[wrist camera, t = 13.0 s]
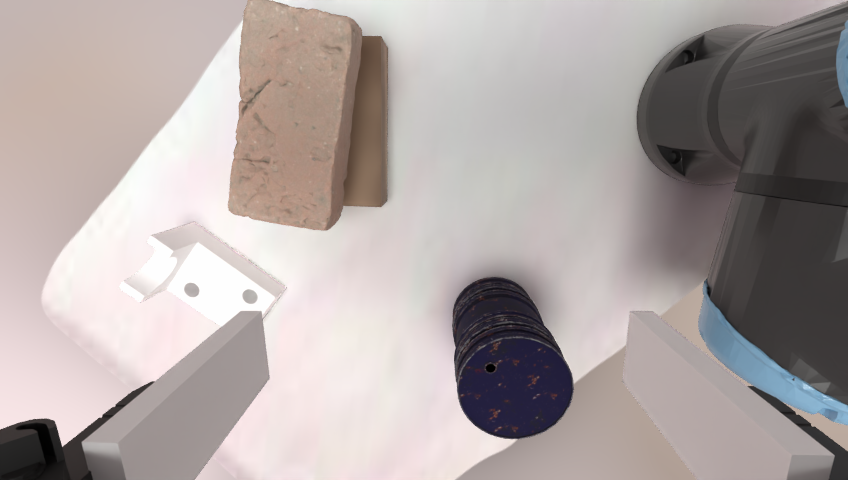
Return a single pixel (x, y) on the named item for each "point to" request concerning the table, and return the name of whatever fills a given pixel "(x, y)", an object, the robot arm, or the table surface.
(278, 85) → the brick
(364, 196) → the tower base
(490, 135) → the table surface
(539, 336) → the dark blue barrel
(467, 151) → the table surface
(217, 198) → the table surface
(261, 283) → the bracket
